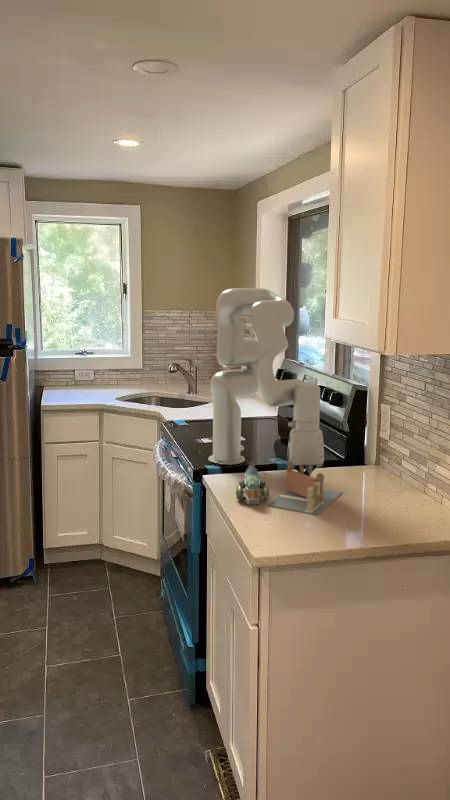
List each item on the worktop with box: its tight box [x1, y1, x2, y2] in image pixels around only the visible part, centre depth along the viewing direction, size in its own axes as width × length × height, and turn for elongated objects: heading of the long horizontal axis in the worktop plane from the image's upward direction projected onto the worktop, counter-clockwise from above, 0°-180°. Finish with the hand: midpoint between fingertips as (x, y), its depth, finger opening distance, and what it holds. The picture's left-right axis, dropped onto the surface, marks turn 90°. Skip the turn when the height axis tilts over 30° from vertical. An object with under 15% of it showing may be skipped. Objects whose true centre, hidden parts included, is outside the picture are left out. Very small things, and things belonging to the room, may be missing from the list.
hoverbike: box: [234, 461, 270, 507], centre depth 190 cm, size 10×25×8 cm, turn 178°
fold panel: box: [285, 467, 317, 497], centre depth 186 cm, size 11×1×7 cm, turn 40°
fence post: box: [307, 472, 325, 511], centre depth 178 cm, size 10×2×9 cm, turn 152°
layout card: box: [266, 488, 343, 516], centre depth 185 cm, size 21×15×1 cm
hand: (304, 486), depth 190 cm, fingers closed
